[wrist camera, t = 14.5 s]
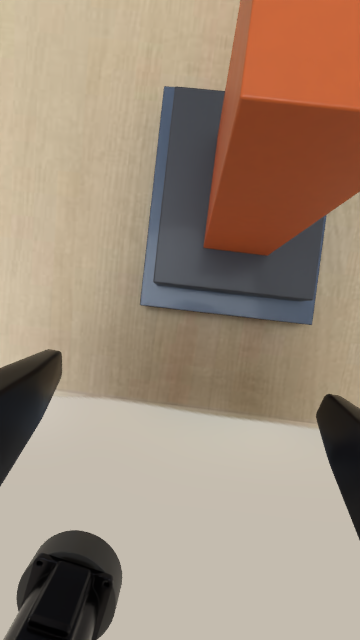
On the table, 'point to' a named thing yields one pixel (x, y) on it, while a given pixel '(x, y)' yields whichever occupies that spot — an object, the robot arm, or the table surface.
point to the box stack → (190, 225)
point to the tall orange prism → (286, 123)
